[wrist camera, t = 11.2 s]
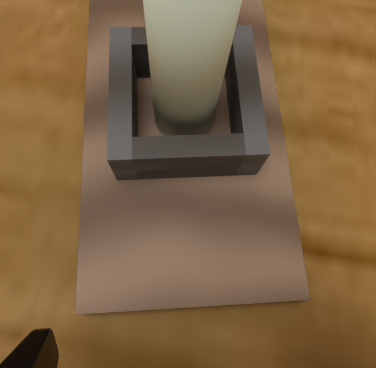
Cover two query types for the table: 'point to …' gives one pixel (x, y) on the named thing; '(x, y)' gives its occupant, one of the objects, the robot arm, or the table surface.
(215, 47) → the pale green peg
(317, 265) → the table surface
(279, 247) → the keeper
